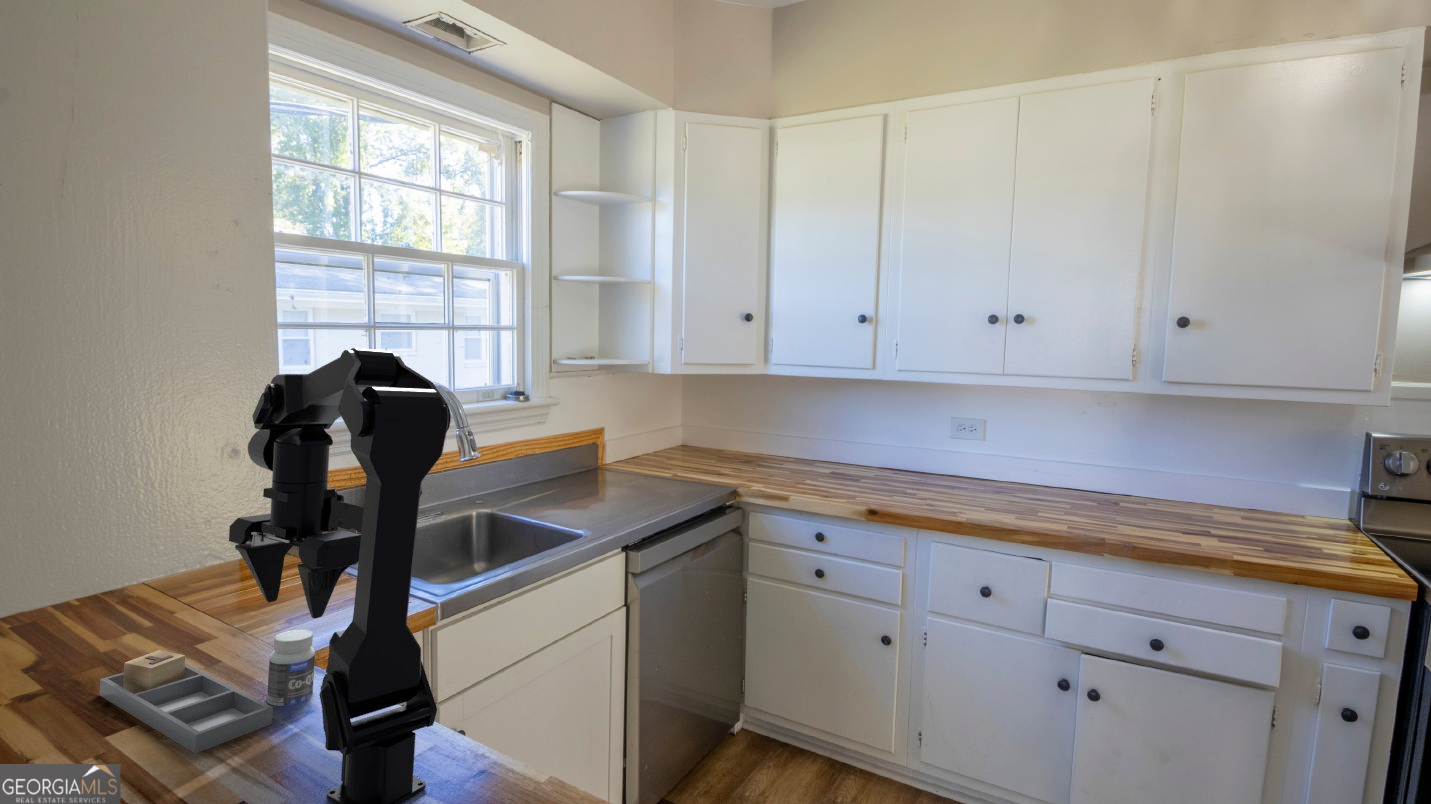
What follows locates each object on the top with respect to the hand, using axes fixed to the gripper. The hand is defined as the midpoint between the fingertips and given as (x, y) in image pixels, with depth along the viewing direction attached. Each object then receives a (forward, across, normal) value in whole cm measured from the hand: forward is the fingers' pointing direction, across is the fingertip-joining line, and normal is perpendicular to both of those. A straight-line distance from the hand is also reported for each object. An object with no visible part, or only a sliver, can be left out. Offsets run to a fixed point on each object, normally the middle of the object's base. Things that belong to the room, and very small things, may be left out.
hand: (293, 609), depth 83 cm
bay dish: (+12, +6, +8) cm, 15 cm away
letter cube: (+11, +13, +8) cm, 19 cm away
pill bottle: (+12, 0, 0) cm, 12 cm away
